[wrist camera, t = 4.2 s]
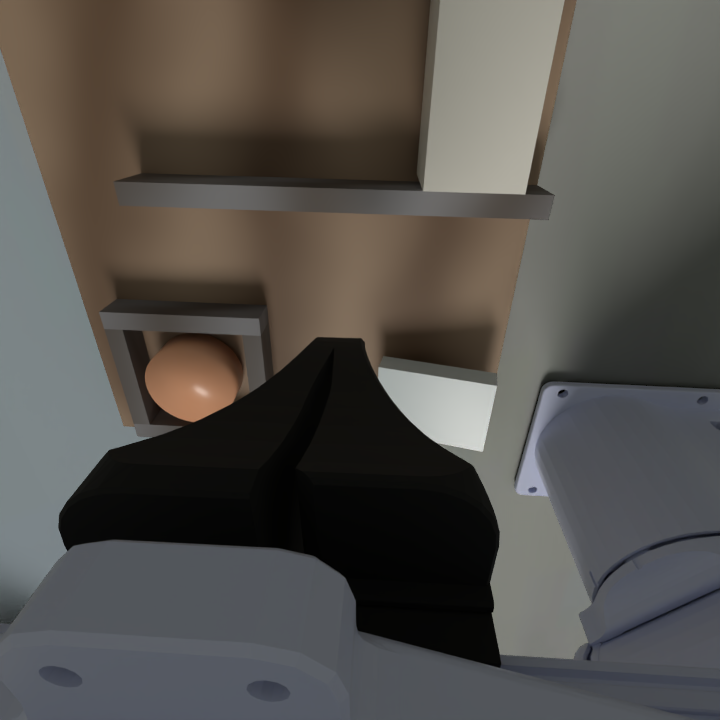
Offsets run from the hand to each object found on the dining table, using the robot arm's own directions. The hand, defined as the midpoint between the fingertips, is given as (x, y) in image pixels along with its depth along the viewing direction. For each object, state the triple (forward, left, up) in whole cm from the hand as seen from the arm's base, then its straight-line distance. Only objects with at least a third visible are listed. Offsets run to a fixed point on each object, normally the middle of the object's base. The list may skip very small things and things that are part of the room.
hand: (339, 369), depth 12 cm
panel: (+3, -1, -9) cm, 10 cm away
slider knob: (-4, -7, -7) cm, 10 cm away
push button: (+7, +5, -7) cm, 11 cm away
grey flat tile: (-4, +5, -6) cm, 9 cm away
